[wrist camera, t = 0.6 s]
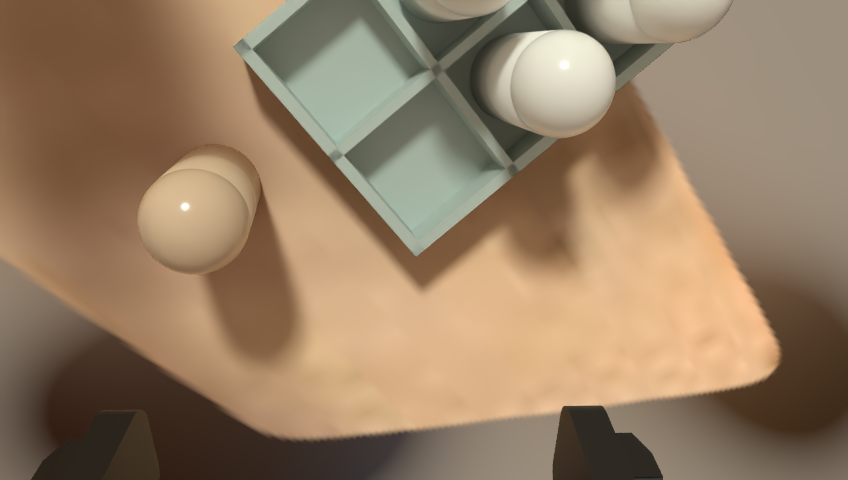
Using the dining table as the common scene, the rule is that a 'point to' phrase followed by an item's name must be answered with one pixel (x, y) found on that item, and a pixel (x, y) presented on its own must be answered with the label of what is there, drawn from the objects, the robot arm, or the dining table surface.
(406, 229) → the carton
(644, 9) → the white eggs
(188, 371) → the dining table surface
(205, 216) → the cream dome-topped cylinder
